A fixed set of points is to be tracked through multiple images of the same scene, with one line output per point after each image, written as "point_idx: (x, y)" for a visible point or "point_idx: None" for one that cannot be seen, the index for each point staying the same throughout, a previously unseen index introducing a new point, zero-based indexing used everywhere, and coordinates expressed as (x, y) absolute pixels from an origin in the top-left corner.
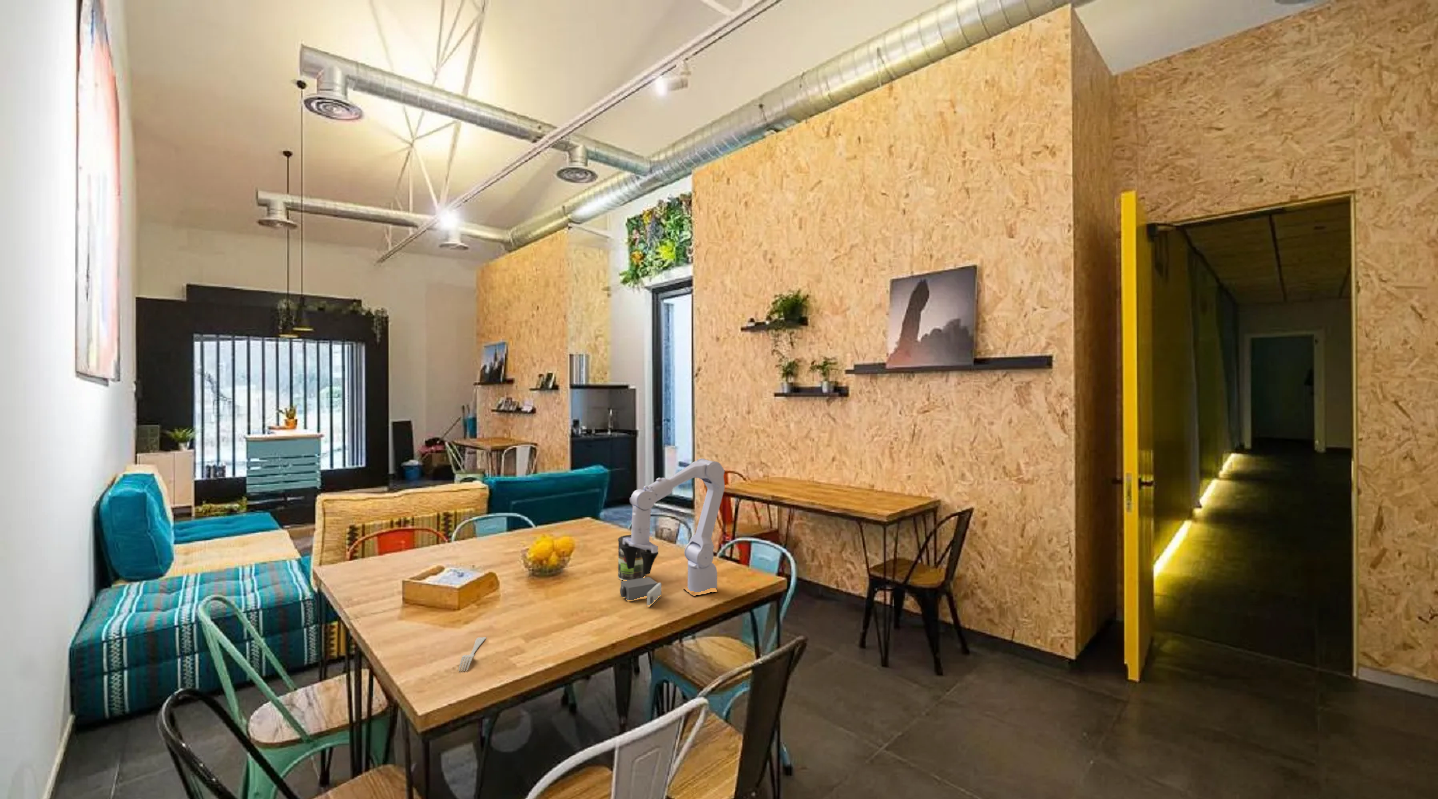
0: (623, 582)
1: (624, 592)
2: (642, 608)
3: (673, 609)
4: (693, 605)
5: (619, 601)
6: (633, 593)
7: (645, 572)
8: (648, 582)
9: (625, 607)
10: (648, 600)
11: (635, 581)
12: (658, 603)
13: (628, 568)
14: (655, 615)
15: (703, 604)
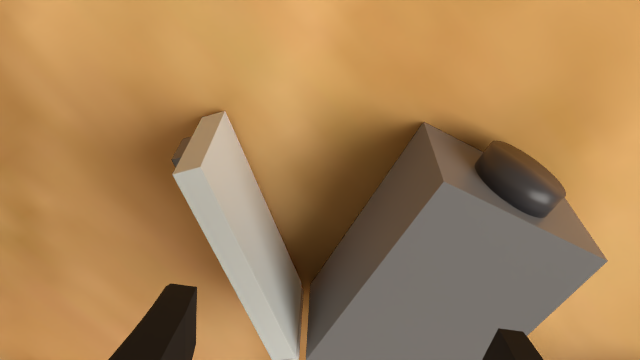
0: (570, 254)
1: (489, 161)
2: (245, 82)
3: (63, 183)
4: (32, 286)
5: (498, 94)
6: (409, 185)
7: (154, 307)
8: (374, 340)
9: (374, 21)
10: (202, 139)
11: (483, 312)
12: None
13: (507, 333)
14: (57, 27)
15: (6, 320)
